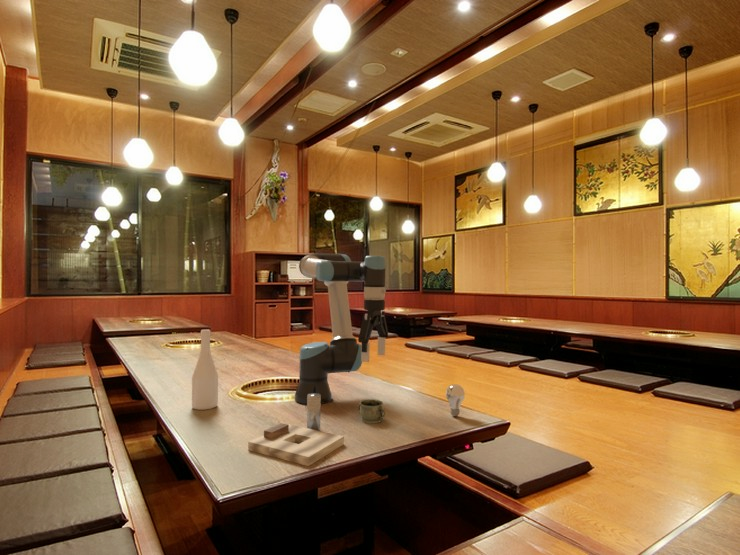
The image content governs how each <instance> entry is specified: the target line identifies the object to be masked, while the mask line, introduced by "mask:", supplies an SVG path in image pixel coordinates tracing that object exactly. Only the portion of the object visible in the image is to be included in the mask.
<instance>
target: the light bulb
mask: <svg viewBox="0 0 740 555" xmlns="http://www.w3.org/2000/svg"><path fill="white" fill-rule="evenodd" d="M465 394H466V393H465V390H464V387H462V386H461V385H460V384H457V383H453V384H450V385H449V386H447V388H446V390H445V396H446V399H447V401H448V403H449V407H450V415H452V417H454V418H457V417H458V416H459V415H460V408H461V405H462V402H463V401H464V399H465Z"/></svg>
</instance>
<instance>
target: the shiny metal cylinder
mask: <svg viewBox="0 0 740 555" xmlns="http://www.w3.org/2000/svg"><path fill="white" fill-rule="evenodd" d="M306 408H307V409H306V419H307V420H306V428H308V429H313V430H317V431H321V411H322V410H321V408H322V407H321V394H318V393H311V394H308V395H307V404H306Z"/></svg>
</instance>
